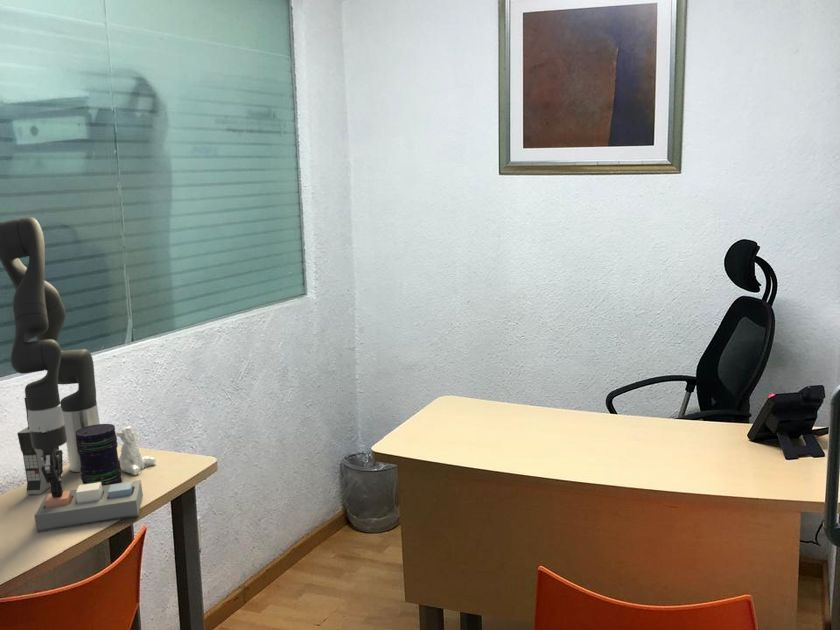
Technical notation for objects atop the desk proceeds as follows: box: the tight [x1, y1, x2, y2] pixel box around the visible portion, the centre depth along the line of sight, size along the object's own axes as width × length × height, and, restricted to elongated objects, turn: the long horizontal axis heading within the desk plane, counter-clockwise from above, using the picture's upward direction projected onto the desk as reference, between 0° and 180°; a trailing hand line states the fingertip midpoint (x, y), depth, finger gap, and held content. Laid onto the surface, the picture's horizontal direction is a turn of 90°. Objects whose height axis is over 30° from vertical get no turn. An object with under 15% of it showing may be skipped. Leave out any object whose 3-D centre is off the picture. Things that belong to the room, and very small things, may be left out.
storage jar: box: [75, 423, 123, 486], centre depth 219 cm, size 10×10×15 cm
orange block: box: [45, 490, 72, 508], centre depth 199 cm, size 5×5×4 cm
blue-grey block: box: [108, 481, 133, 498], centre depth 202 cm, size 5×5×4 cm
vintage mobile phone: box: [17, 397, 51, 495], centre depth 216 cm, size 4×5×25 cm
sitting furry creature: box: [116, 426, 156, 476], centre depth 229 cm, size 10×9×12 cm
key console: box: [34, 479, 144, 533], centre depth 200 cm, size 14×22×4 cm, turn 104°
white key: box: [76, 482, 103, 503], centre depth 200 cm, size 5×5×4 cm
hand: (57, 496), depth 198 cm, fingers closed
